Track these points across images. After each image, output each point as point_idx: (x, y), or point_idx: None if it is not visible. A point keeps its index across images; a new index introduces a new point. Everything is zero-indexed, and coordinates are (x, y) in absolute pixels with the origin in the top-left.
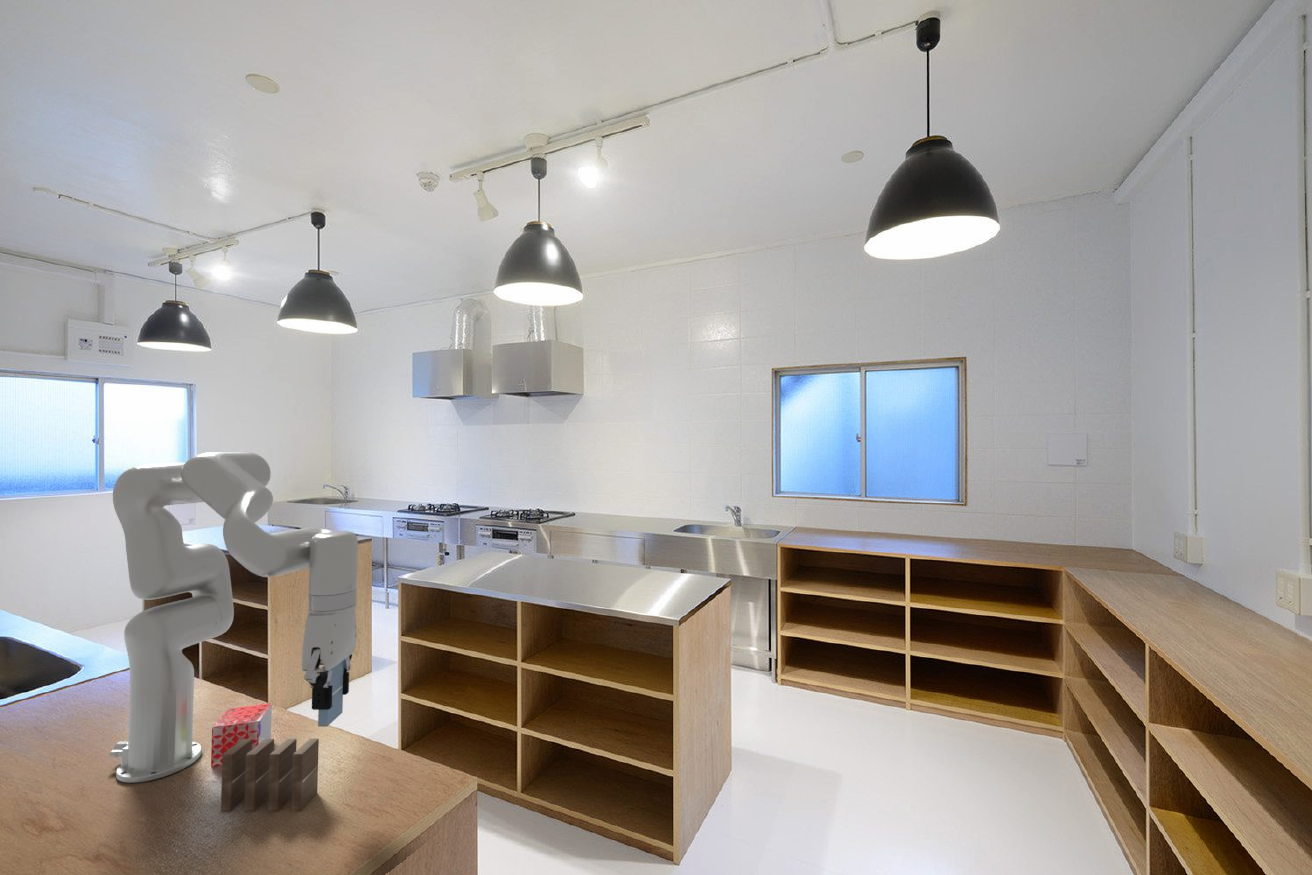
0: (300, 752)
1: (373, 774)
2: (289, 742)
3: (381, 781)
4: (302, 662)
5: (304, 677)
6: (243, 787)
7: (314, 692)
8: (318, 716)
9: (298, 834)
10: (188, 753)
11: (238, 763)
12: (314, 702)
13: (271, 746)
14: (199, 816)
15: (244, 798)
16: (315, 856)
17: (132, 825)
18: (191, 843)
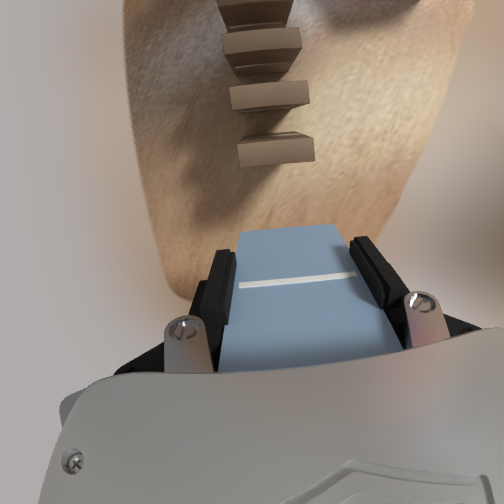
0: (245, 159)
1: (348, 212)
2: (289, 97)
3: None
4: (61, 438)
5: (61, 405)
6: None
7: (189, 313)
8: (237, 247)
9: (197, 186)
10: None
11: (245, 15)
12: (197, 287)
13: (289, 51)
14: (217, 10)
15: None
16: (166, 237)
17: None
18: (161, 51)
